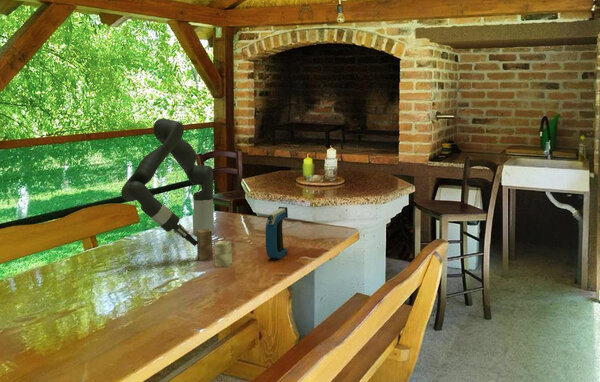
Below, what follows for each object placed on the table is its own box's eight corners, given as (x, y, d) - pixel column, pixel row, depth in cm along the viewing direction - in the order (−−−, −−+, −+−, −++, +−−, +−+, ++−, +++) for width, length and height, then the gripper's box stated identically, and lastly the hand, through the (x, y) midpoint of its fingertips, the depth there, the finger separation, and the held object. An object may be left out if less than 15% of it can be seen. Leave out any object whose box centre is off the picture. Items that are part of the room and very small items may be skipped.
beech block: (215, 266, 248) (214, 244, 247) (220, 262, 253) (219, 241, 251) (227, 266, 247) (226, 244, 245) (231, 263, 252) (231, 241, 250)
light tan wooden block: (200, 261, 255) (199, 232, 253) (197, 258, 259) (196, 230, 257) (212, 259, 257) (211, 231, 255) (209, 256, 262) (208, 228, 259)
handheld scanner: (289, 251, 267) (288, 206, 264) (276, 262, 252) (274, 214, 249) (279, 251, 269) (278, 206, 265) (265, 261, 254) (263, 214, 250)
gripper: (175, 213, 243) (206, 240, 250) (167, 207, 255) (197, 233, 262) (162, 228, 242) (194, 255, 249) (155, 221, 254) (186, 247, 261)
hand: (196, 243), depth 256 cm, fingers closed
